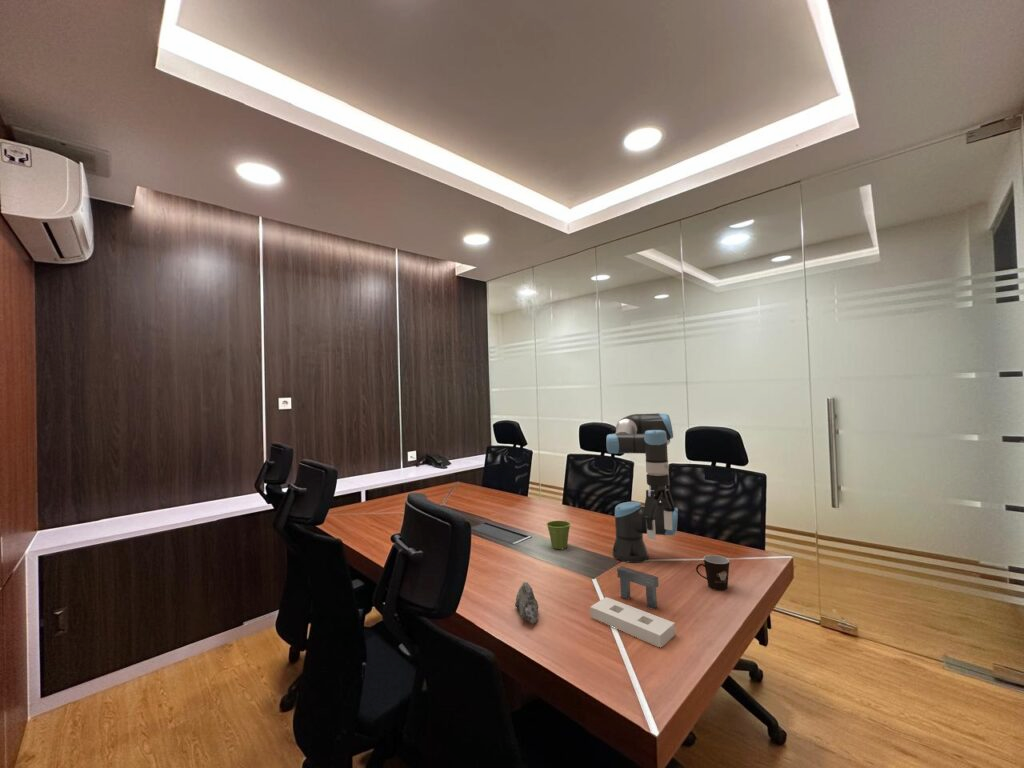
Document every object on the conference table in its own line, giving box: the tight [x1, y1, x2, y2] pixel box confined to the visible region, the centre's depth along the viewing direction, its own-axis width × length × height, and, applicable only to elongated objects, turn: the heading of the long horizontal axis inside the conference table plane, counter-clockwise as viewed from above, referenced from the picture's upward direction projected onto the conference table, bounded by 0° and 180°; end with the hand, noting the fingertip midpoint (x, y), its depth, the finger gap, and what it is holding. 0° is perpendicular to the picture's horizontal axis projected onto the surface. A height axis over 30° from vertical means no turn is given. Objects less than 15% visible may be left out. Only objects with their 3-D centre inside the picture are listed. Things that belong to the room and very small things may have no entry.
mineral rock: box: [514, 581, 539, 624], centre depth 136 cm, size 13×11×10 cm
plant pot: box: [546, 520, 572, 550], centre depth 199 cm, size 12×12×11 cm
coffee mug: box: [695, 554, 730, 592], centre depth 153 cm, size 12×9×10 cm
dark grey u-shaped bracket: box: [616, 565, 659, 610], centre depth 143 cm, size 14×3×10 cm, turn 43°
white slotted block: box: [589, 596, 676, 649], centre depth 128 cm, size 24×9×4 cm, turn 43°
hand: (660, 534), depth 146 cm, fingers open, 13 cm apart
